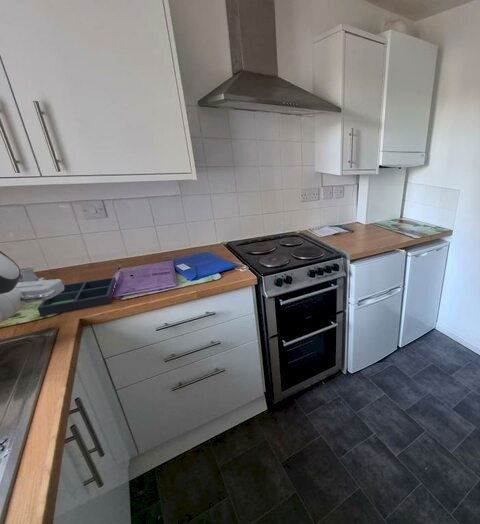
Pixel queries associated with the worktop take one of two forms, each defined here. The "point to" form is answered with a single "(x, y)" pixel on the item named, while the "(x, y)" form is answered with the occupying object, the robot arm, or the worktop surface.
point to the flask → (28, 275)
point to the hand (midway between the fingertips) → (32, 280)
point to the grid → (80, 296)
